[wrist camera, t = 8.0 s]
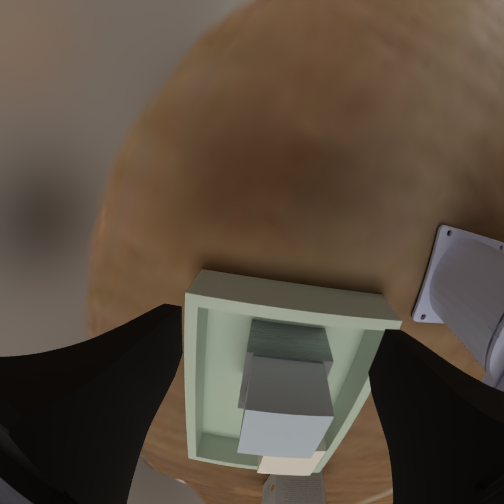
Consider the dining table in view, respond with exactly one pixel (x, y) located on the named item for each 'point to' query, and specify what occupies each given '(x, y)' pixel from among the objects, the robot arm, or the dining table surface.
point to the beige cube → (291, 463)
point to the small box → (294, 489)
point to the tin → (285, 347)
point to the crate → (235, 346)
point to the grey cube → (285, 408)
